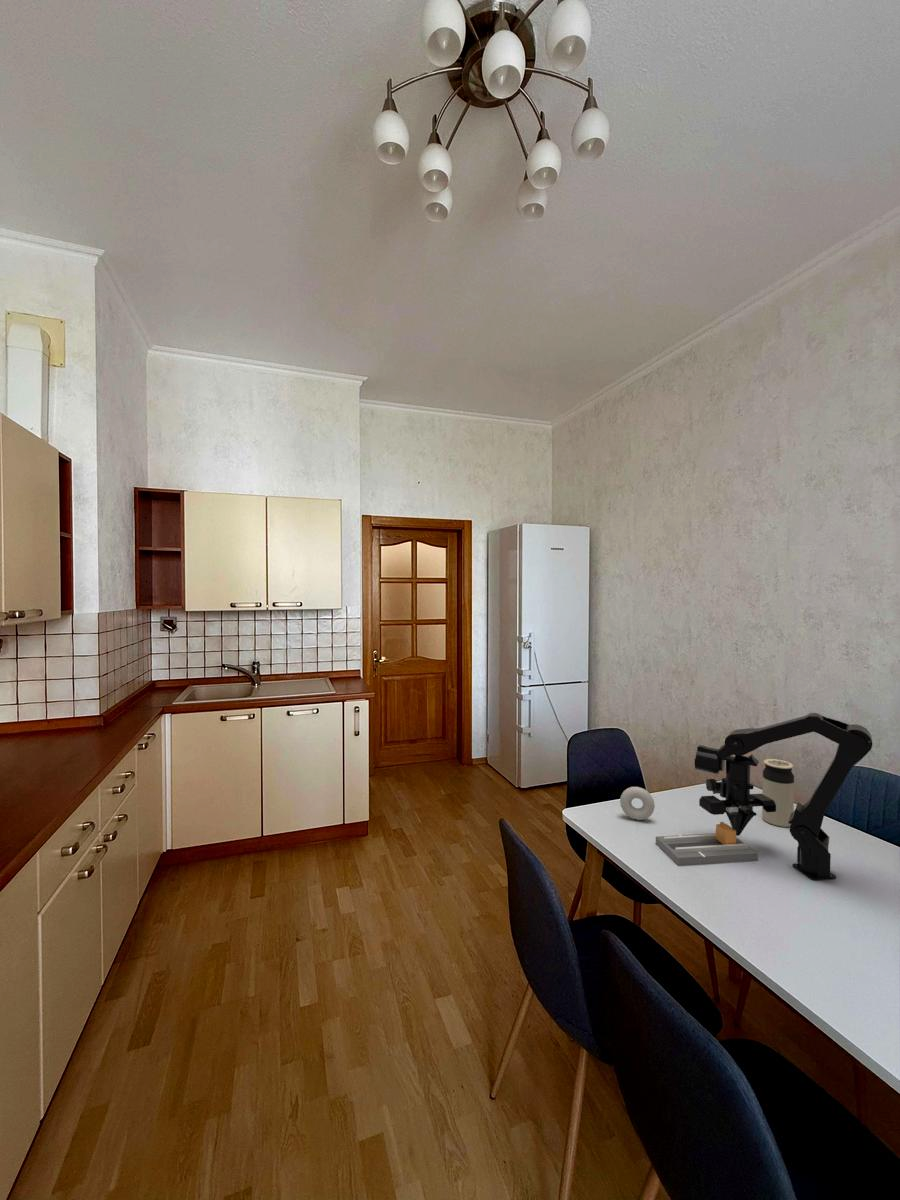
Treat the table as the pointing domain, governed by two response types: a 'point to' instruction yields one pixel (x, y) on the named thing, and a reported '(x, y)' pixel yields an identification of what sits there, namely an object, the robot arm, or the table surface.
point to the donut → (632, 811)
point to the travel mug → (778, 791)
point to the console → (704, 849)
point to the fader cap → (725, 834)
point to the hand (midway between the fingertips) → (736, 834)
